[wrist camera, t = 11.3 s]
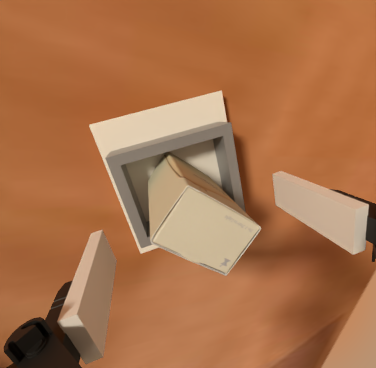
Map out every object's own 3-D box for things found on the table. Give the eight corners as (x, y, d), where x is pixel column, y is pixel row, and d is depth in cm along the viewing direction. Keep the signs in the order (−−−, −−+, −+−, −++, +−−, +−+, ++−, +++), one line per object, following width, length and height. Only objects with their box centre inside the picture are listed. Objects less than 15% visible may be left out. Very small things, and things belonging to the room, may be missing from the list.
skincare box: (209, 176, 25) (267, 227, 14) (189, 206, 26) (228, 278, 14) (164, 148, 23) (189, 181, 12) (143, 182, 24) (148, 244, 12)
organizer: (140, 246, 28) (140, 273, 23) (92, 124, 22) (79, 126, 17) (238, 213, 29) (257, 232, 25) (216, 91, 24) (235, 86, 19)
